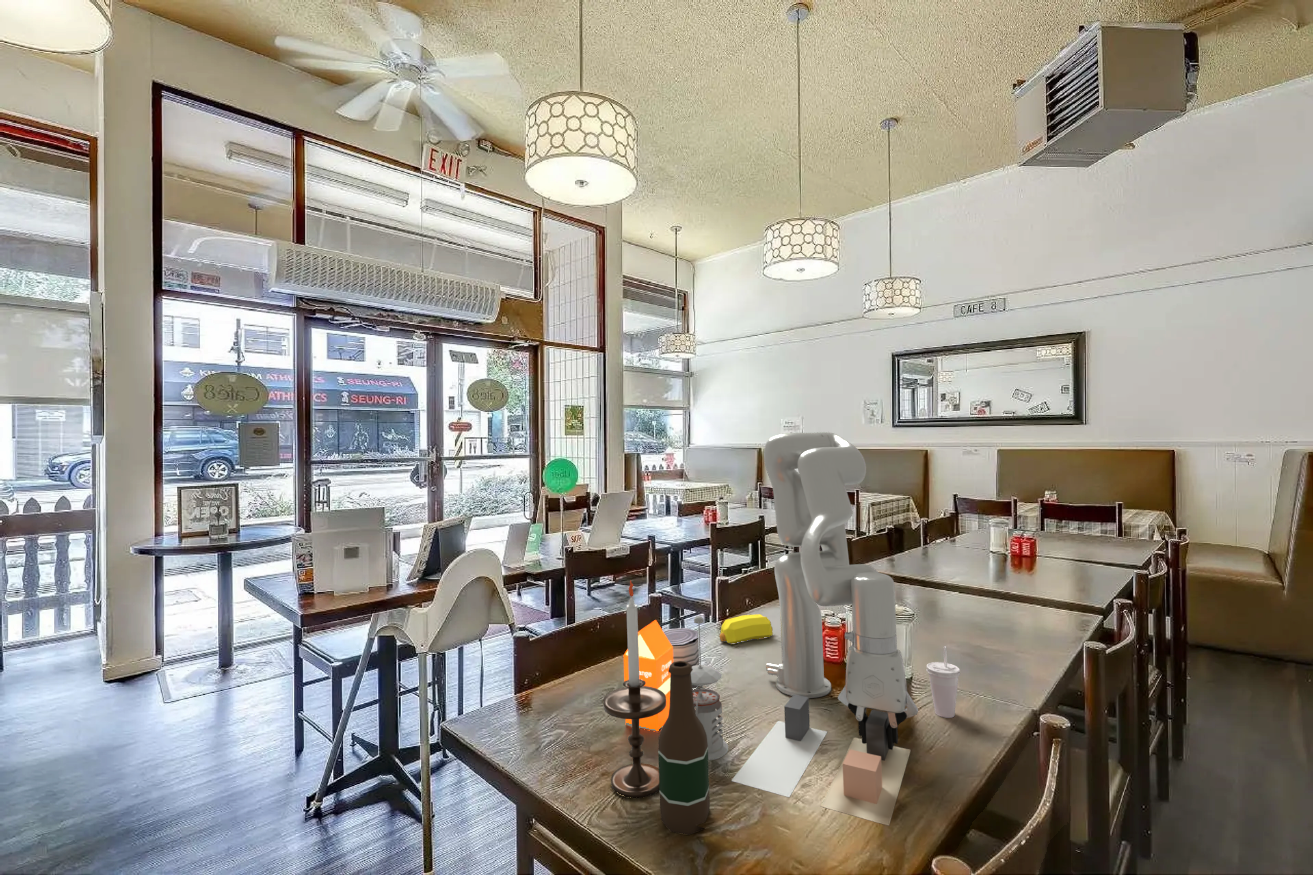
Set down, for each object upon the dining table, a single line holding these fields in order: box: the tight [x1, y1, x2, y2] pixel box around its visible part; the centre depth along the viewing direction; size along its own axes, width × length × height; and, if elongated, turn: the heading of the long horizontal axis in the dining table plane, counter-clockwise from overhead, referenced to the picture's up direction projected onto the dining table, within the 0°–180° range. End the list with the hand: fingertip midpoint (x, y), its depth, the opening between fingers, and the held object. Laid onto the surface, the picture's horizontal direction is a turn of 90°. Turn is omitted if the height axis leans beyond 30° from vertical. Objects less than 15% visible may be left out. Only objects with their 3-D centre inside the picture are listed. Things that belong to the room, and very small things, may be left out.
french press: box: [691, 615, 729, 761], centre depth 111 cm, size 10×12×25 cm
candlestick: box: [603, 579, 666, 799], centre depth 101 cm, size 11×11×35 cm
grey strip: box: [731, 695, 828, 798], centre depth 106 cm, size 10×24×7 cm, turn 149°
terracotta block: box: [843, 748, 882, 804], centre depth 94 cm, size 5×5×5 cm
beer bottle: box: [657, 661, 711, 836], centre depth 90 cm, size 8×8×24 cm
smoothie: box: [925, 645, 961, 719], centre depth 122 cm, size 6×6×14 cm
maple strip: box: [820, 709, 911, 827], centre depth 98 cm, size 10×24×7 cm, turn 149°
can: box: [662, 627, 700, 689], centre depth 142 cm, size 11×11×12 cm
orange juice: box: [623, 619, 673, 732], centre depth 124 cm, size 8×9×20 cm
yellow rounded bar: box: [719, 613, 774, 644], centre depth 173 cm, size 18×7×8 cm
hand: (878, 742), depth 106 cm, fingers open, 3 cm apart
